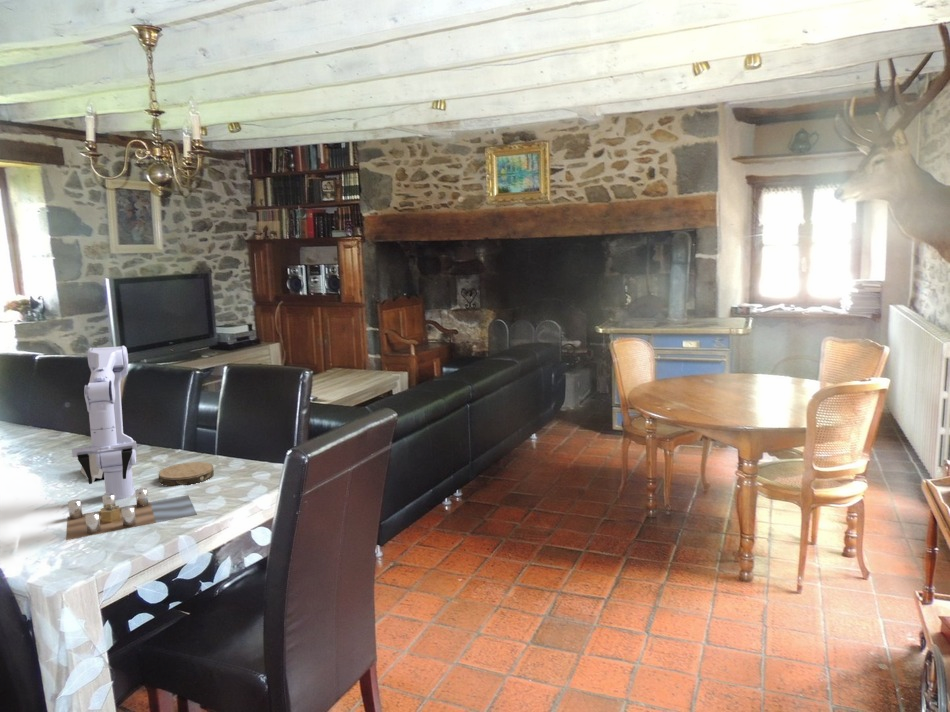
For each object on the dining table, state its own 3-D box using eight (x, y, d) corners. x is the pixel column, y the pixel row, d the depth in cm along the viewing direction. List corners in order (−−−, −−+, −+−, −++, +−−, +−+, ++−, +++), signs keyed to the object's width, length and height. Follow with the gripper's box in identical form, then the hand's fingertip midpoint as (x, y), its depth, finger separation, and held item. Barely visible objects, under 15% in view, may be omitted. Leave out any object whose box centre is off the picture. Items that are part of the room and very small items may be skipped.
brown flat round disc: (148, 483, 211) (147, 473, 211) (190, 468, 225) (189, 459, 225) (183, 490, 204) (182, 480, 204) (224, 474, 218) (224, 465, 217)
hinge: (80, 470, 225) (88, 441, 226) (95, 472, 228) (103, 443, 229) (92, 482, 212) (101, 451, 213) (108, 484, 215) (117, 453, 216)
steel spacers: (69, 516, 181) (67, 500, 181) (148, 502, 191) (146, 487, 190) (68, 538, 167) (66, 521, 166) (153, 522, 176) (152, 505, 175)
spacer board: (68, 519, 182) (67, 516, 182) (188, 497, 196) (188, 495, 196) (66, 543, 166) (66, 540, 166) (197, 517, 181) (197, 514, 181)
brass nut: (101, 518, 180) (100, 507, 179) (119, 514, 182) (118, 504, 182) (101, 524, 176) (100, 513, 175) (120, 521, 178) (119, 509, 177)
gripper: (69, 433, 168) (74, 488, 168) (135, 426, 175) (139, 478, 175) (70, 431, 174) (75, 483, 174) (133, 423, 181) (138, 474, 182)
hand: (107, 480), depth 175 cm, fingers open, 7 cm apart
